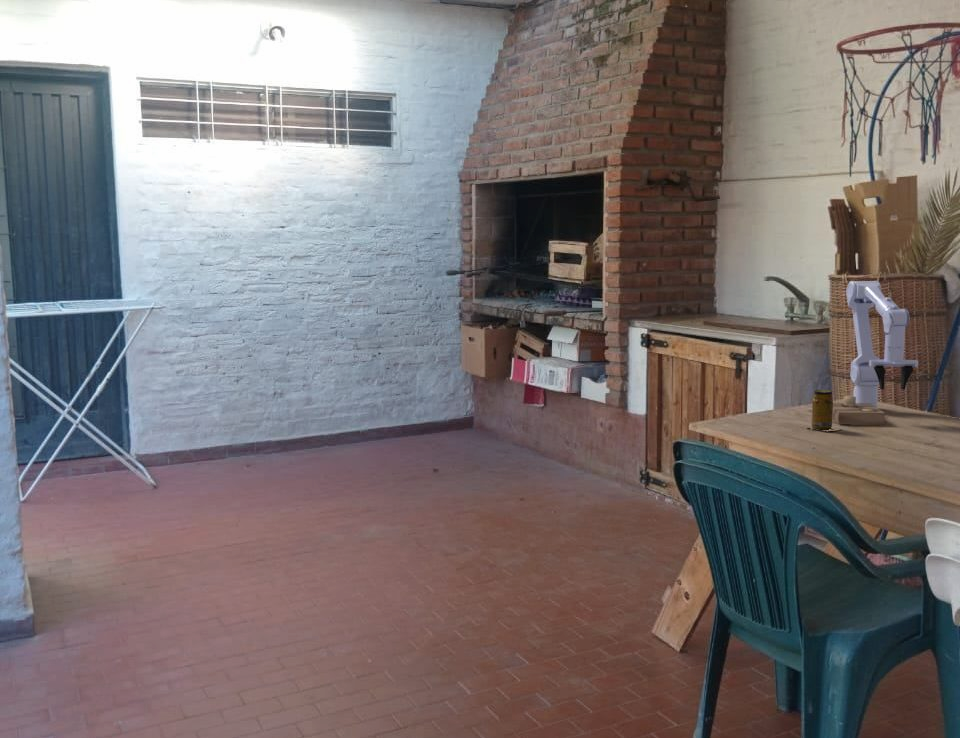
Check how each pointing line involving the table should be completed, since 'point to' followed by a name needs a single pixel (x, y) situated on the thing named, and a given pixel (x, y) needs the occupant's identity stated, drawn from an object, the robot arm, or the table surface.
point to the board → (858, 414)
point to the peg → (849, 401)
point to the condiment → (822, 410)
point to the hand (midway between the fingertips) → (892, 389)
